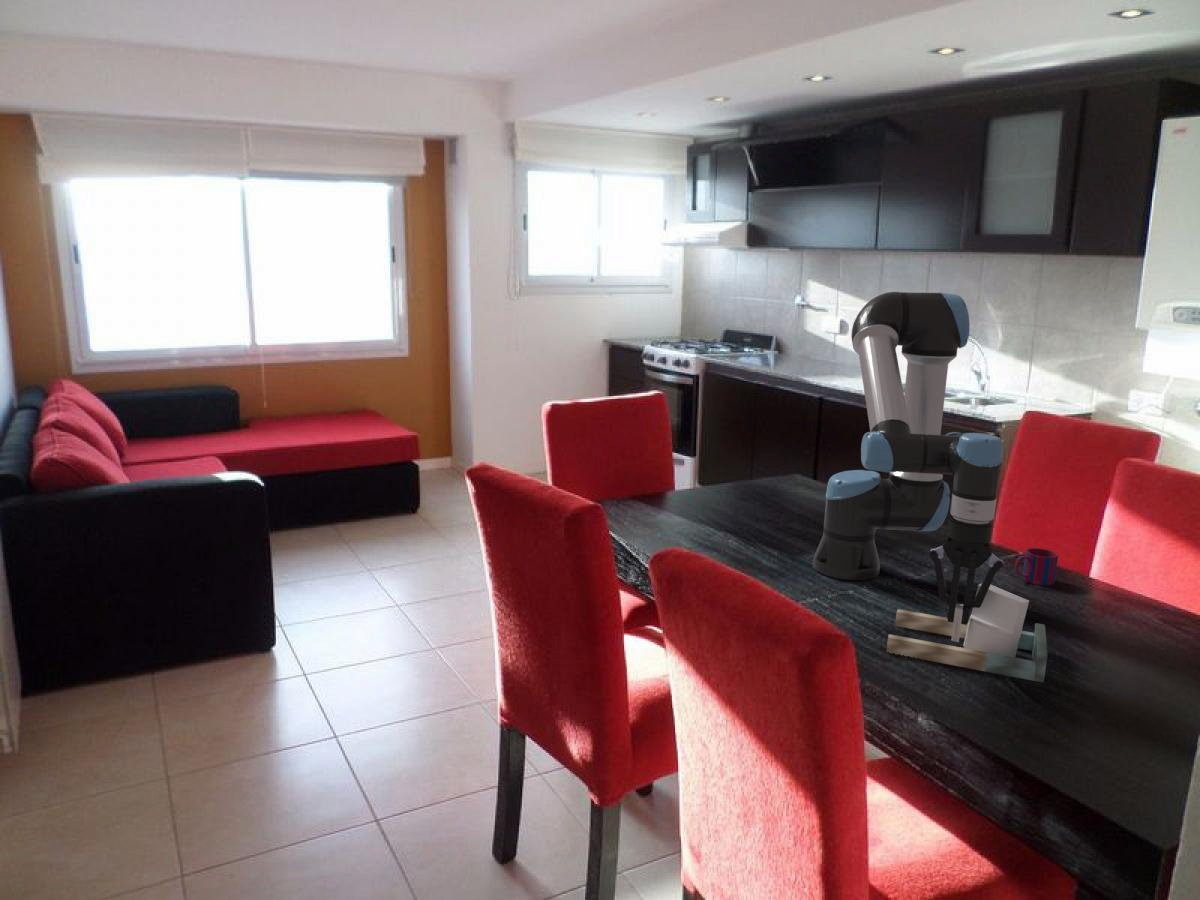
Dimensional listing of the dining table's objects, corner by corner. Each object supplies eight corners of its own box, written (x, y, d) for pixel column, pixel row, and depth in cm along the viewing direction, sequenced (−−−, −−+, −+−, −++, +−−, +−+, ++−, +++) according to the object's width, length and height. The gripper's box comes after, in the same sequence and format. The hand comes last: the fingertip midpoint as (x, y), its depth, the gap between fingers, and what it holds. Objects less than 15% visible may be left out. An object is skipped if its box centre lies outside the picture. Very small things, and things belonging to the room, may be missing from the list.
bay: (886, 652, 169) (889, 627, 168) (896, 623, 182) (898, 599, 181) (1043, 682, 158) (1047, 656, 157) (1041, 649, 172) (1044, 624, 170)
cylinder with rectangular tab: (953, 645, 170) (967, 586, 167) (980, 637, 175) (994, 580, 172) (997, 667, 163) (1012, 606, 160) (1024, 658, 168) (1039, 598, 165)
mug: (1060, 585, 206) (1064, 557, 204) (1020, 586, 204) (1023, 558, 203) (1042, 575, 212) (1046, 547, 210) (1003, 576, 211) (1006, 548, 209)
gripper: (932, 517, 164) (917, 638, 169) (1009, 529, 159) (991, 653, 164) (935, 508, 171) (921, 625, 176) (1009, 518, 166) (992, 638, 170)
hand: (955, 638), depth 170 cm, fingers closed
